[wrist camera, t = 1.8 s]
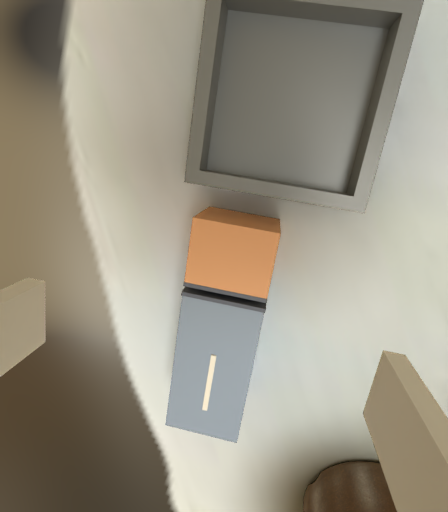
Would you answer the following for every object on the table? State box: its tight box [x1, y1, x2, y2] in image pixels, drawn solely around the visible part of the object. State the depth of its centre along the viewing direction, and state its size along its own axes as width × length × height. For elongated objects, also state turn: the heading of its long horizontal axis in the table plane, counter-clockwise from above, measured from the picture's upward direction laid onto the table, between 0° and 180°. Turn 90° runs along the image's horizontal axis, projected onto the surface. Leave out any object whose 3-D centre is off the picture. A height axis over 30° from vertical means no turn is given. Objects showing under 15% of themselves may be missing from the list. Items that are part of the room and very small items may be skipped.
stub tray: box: [184, 0, 424, 213], centre depth 24 cm, size 13×13×4 cm
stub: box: [183, 207, 281, 303], centre depth 26 cm, size 5×6×6 cm
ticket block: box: [166, 287, 266, 443], centre depth 29 cm, size 12×6×6 cm, turn 171°
